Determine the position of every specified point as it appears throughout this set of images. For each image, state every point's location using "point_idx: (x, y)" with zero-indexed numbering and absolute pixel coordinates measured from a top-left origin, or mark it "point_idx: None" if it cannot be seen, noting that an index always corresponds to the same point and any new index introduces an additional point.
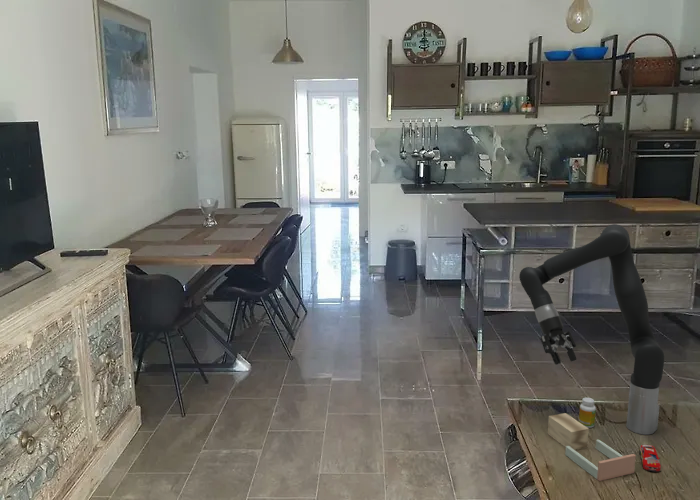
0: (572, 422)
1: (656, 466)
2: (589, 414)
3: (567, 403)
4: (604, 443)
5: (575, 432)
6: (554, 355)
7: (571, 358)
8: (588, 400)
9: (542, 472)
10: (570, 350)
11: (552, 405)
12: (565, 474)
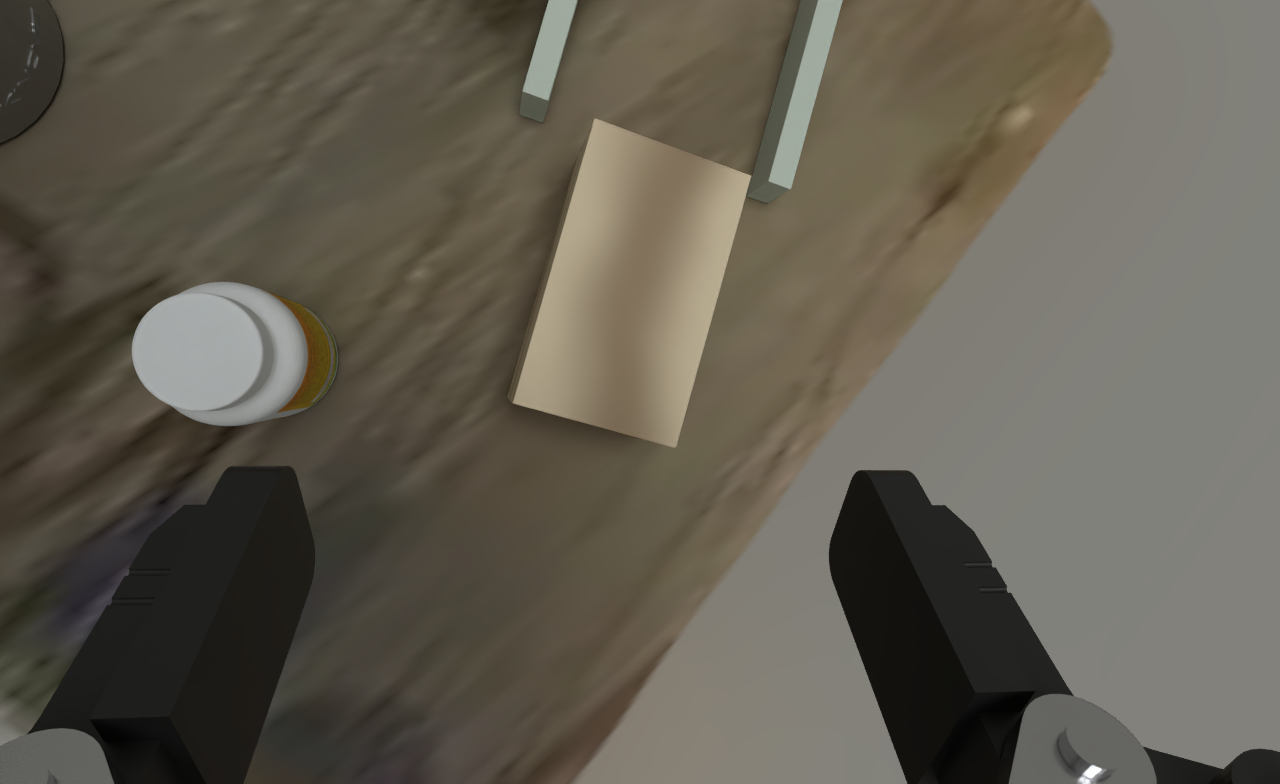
0: (613, 262)
1: None
2: (289, 304)
3: None
4: (541, 33)
5: (711, 166)
6: (1044, 653)
7: (289, 578)
8: (212, 340)
9: (1008, 176)
10: (184, 740)
11: None
12: (932, 82)
